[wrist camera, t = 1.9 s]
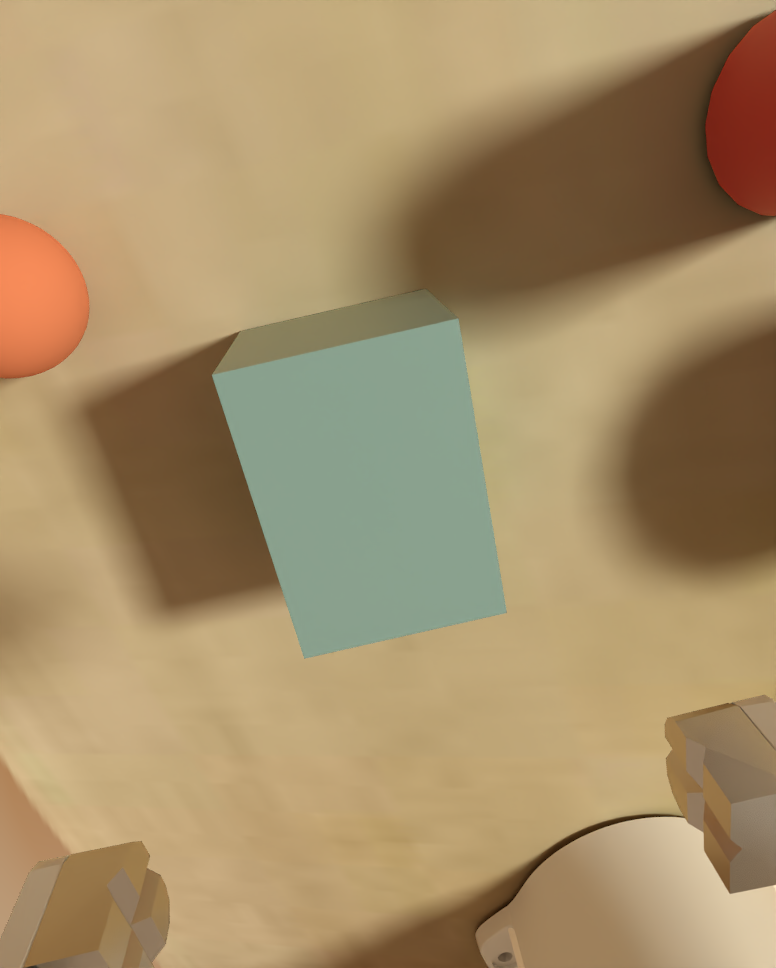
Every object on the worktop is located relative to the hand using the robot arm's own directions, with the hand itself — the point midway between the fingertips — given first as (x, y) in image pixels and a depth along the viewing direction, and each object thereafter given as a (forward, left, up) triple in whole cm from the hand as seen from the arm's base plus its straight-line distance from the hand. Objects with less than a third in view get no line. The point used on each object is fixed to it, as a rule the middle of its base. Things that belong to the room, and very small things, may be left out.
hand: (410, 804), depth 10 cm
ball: (+8, +10, -15) cm, 20 cm away
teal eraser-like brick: (0, 0, -18) cm, 18 cm away
